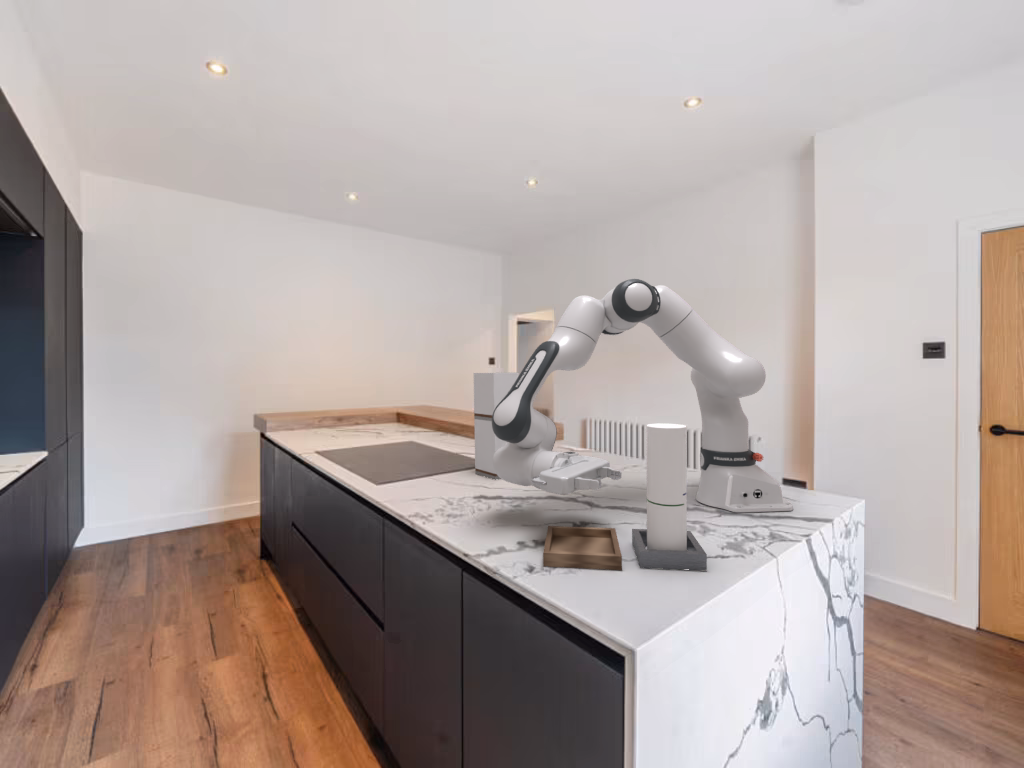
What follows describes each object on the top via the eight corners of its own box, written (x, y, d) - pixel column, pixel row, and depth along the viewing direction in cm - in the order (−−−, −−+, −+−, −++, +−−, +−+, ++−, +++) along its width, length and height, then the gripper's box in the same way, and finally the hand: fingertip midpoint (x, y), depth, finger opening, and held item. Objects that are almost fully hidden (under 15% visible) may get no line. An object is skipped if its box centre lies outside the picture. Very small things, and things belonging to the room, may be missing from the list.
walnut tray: (615, 540, 92) (615, 528, 92) (621, 570, 79) (621, 556, 79) (548, 537, 95) (548, 525, 94) (543, 566, 81) (543, 552, 81)
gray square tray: (690, 545, 89) (690, 530, 89) (706, 571, 78) (706, 554, 78) (632, 543, 91) (632, 528, 91) (640, 568, 79) (639, 551, 79)
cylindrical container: (692, 555, 85) (692, 425, 84) (678, 568, 79) (677, 429, 78) (656, 545, 89) (656, 422, 88) (640, 557, 84) (639, 426, 83)
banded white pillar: (520, 474, 151) (518, 372, 150) (495, 480, 144) (493, 372, 143) (499, 469, 160) (497, 372, 159) (475, 474, 153) (473, 373, 152)
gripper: (526, 465, 91) (585, 474, 83) (576, 450, 107) (630, 456, 99) (526, 496, 92) (585, 508, 83) (576, 476, 108) (630, 484, 99)
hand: (610, 480), depth 91 cm, fingers open, 8 cm apart
